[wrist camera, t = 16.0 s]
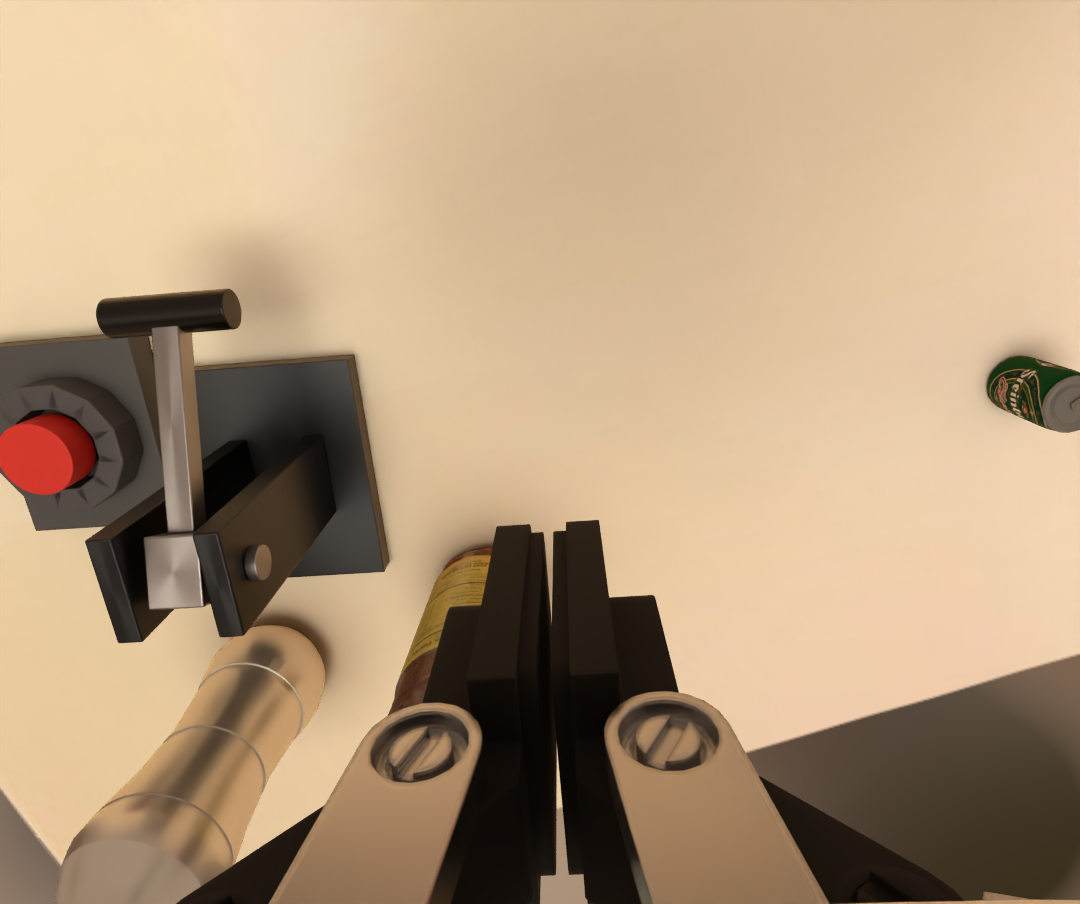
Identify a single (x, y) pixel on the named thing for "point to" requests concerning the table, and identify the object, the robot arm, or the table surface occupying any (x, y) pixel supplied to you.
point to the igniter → (89, 420)
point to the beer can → (1038, 392)
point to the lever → (174, 427)
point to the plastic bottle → (199, 778)
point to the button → (46, 453)
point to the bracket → (260, 494)
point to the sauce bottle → (440, 621)
